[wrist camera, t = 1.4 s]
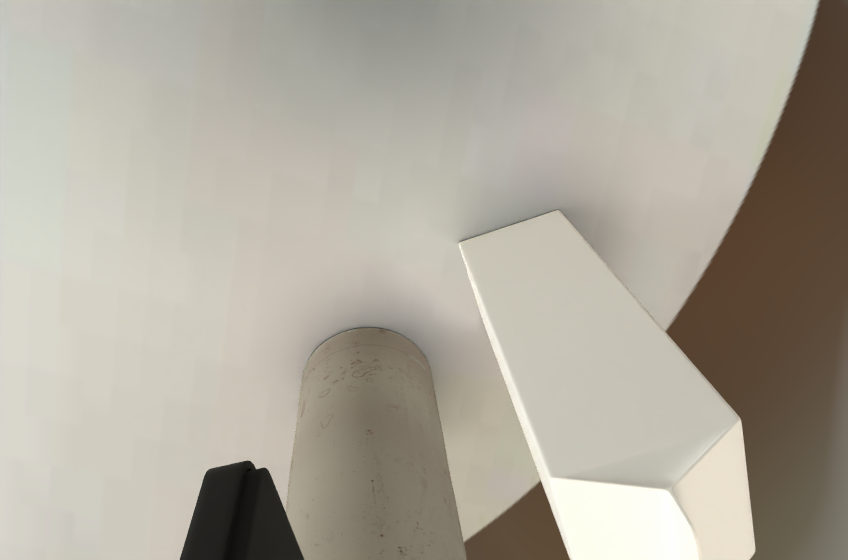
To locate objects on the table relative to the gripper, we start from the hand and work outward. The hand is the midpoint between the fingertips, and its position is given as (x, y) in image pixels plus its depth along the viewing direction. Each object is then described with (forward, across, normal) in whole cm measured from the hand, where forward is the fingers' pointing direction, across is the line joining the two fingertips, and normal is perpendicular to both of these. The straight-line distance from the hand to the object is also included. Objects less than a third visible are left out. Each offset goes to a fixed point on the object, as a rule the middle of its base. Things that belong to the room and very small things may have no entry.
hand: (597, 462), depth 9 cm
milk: (+26, -4, +10) cm, 28 cm away
